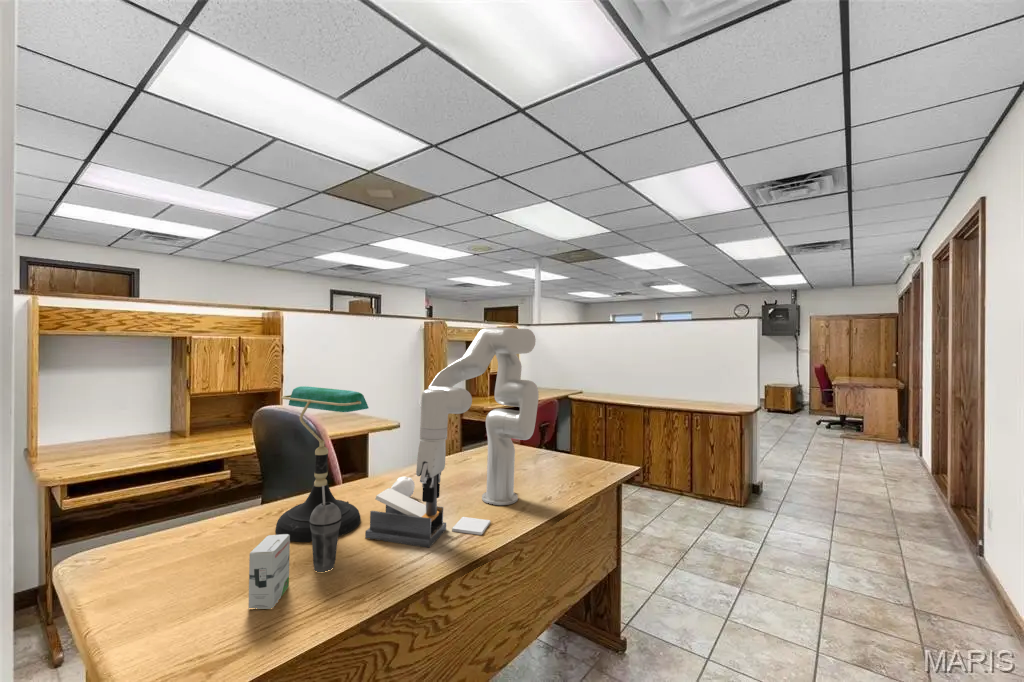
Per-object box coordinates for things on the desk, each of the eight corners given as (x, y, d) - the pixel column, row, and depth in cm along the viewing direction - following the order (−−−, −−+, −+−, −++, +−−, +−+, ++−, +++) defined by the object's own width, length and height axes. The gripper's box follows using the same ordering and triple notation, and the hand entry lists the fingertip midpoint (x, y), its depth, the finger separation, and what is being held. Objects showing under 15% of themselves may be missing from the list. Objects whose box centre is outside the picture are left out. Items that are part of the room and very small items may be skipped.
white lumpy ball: (403, 493, 160) (403, 471, 160) (419, 497, 156) (419, 475, 156) (386, 499, 153) (387, 477, 153) (402, 504, 149) (403, 481, 149)
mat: (462, 519, 139) (462, 516, 139) (490, 522, 137) (490, 520, 137) (451, 531, 130) (452, 528, 130) (481, 535, 128) (481, 532, 128)
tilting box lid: (375, 499, 126) (376, 495, 126) (387, 491, 133) (389, 487, 132) (427, 525, 122) (429, 521, 122) (438, 515, 129) (439, 511, 129)
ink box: (266, 587, 98) (268, 533, 98) (289, 586, 99) (291, 533, 99) (246, 611, 90) (248, 552, 90) (272, 610, 90) (273, 551, 90)
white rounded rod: (428, 510, 127) (428, 469, 127) (438, 511, 126) (438, 470, 126) (424, 515, 124) (423, 472, 124) (434, 516, 124) (434, 473, 123)
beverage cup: (347, 563, 109) (349, 482, 109) (325, 578, 103) (328, 491, 103) (323, 558, 112) (325, 478, 112) (300, 572, 105) (303, 487, 105)
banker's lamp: (381, 519, 136) (385, 388, 136) (320, 551, 116) (325, 396, 116) (318, 504, 148) (322, 382, 148) (252, 530, 127) (256, 388, 127)
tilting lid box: (365, 538, 124) (366, 512, 124) (387, 521, 135) (387, 498, 135) (429, 547, 119) (429, 521, 119) (446, 529, 131) (446, 505, 131)
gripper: (432, 427, 134) (430, 489, 134) (407, 438, 118) (404, 507, 118) (456, 429, 132) (453, 492, 132) (434, 440, 116) (431, 511, 116)
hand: (430, 498), depth 125 cm, fingers closed on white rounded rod, 3 cm apart
